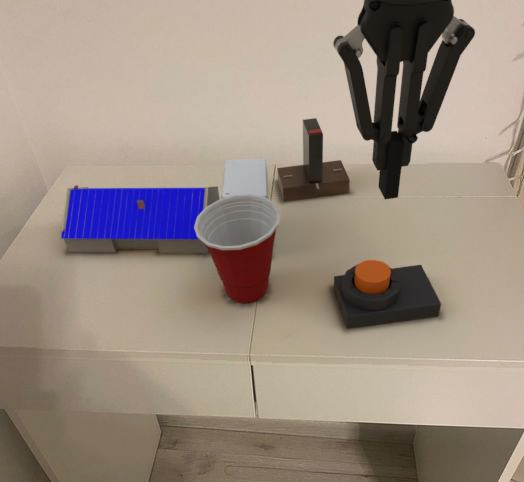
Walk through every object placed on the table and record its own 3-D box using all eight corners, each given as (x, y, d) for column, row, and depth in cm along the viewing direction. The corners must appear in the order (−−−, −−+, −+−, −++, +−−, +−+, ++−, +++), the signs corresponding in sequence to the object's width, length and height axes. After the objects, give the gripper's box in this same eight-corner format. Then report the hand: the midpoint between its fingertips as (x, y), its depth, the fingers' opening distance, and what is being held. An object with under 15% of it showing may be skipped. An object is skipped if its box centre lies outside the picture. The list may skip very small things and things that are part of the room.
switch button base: (419, 276, 76) (423, 253, 73) (438, 316, 71) (444, 293, 68) (333, 288, 76) (334, 265, 73) (346, 329, 70) (348, 306, 67)
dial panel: (338, 168, 97) (338, 154, 95) (351, 198, 90) (352, 183, 88) (276, 176, 97) (275, 162, 95) (284, 206, 90) (284, 192, 88)
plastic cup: (194, 282, 79) (179, 209, 70) (262, 256, 82) (255, 184, 73) (226, 328, 72) (214, 254, 63) (298, 299, 75) (296, 224, 66)
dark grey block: (303, 165, 93) (302, 118, 87) (316, 164, 93) (316, 116, 87) (309, 182, 90) (308, 134, 84) (322, 181, 90) (323, 132, 84)
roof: (67, 255, 85) (50, 214, 80) (94, 204, 94) (81, 164, 89) (207, 256, 82) (199, 214, 77) (221, 204, 92) (215, 163, 86)
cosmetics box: (271, 257, 81) (267, 195, 73) (228, 260, 82) (219, 197, 74) (270, 217, 88) (266, 155, 81) (230, 219, 89) (222, 158, 81)
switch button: (383, 270, 72) (385, 257, 71) (393, 292, 69) (395, 279, 68) (350, 274, 72) (351, 262, 70) (358, 296, 69) (359, 284, 67)
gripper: (345, -39, 43) (339, 219, 60) (510, -61, 43) (456, 201, 60) (325, -61, 48) (324, 183, 65) (472, -80, 48) (432, 167, 65)
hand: (388, 191), depth 63 cm, fingers closed
